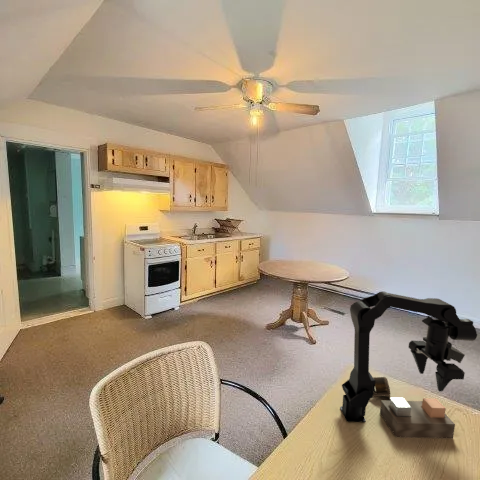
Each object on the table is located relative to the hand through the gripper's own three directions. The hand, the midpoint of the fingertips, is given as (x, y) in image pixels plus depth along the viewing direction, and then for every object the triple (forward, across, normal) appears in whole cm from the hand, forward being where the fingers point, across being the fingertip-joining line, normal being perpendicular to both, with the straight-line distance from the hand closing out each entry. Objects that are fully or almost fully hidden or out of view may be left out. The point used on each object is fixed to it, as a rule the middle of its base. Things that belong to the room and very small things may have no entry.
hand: (430, 381), depth 94 cm
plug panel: (+14, -3, +6) cm, 15 cm away
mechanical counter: (+14, +13, +12) cm, 23 cm away
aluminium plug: (+10, -3, +11) cm, 16 cm away
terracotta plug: (+10, -3, 0) cm, 11 cm away
